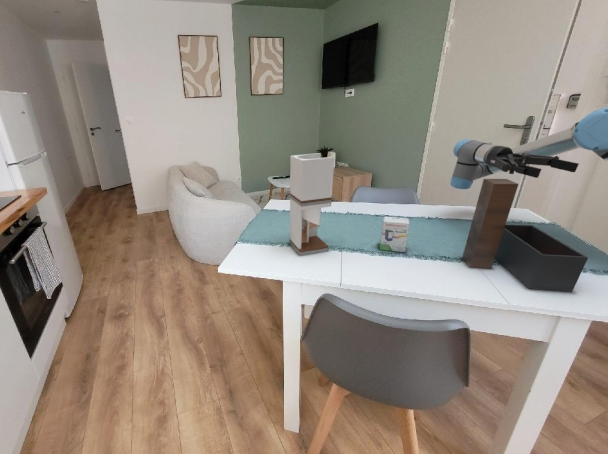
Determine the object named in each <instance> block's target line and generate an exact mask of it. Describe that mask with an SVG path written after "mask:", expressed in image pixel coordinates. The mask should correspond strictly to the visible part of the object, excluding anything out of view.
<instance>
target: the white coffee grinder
mask: <svg viewBox="0 0 608 454" xmlns="http://www.w3.org/2000/svg"><path fill="white" fill-rule="evenodd" d="M289 163H290V164H289V165H290V166H289V167H290V168H289V171H290V172H289V173H290V174H289V244H290V246H291V247H292V248H293V249H294V250H295V252H297V254H298V255H299V256H304V255H305V256H306V255H311V254H316V253H317V254H318V253H323V252H328V251H329V245H328V244H327V243H326V242H325V241H324V240H322V239H321V238H320V237H319V236H318V227H321V218H322V208H323V209H324V208H330V207H332V199H333V185H334V168H335V156H330V157H322V153H321V152H317V153H306V154H293V155H290V162H289Z"/></svg>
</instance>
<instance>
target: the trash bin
mask: <svg viewBox="0 0 608 454" xmlns="http://www.w3.org/2000/svg"><path fill="white" fill-rule="evenodd" d="M588 259H589V257H588V256H586V255H584V253H581V252H580V251H578V250H576V249H574V248H573V247H571V246H570V245H567V244H566V243H564V242H563V241H561V240H559V239H557V238H555V237H554V236H552V235H550V234H549V233H547V232H545V231H543V230H542V229H540V228H538V227H537V226H535V225H533V224H532V225H531V224H510V223H509V224H507V223H506V224H505V227H504V231H503V234H502V237H501V240H500V243H499V246H498V249H497V252H496V255H495V258H494V260H496V261H497V262H498V263H499V264H500V265H501V266H503V268H505V269H506V270H507V271H508V272H509V273H510V274H512V276H514V277H515V278H516V279H517V280H518V281H519V282H521V284H523V285H524V286H525V287H526V288H527V289H529V290H539V291H553V292H564V293H565V292H566V293H573V291H574V289H575V286H576V285H577V283H578V280H579V278H580V276H581V274H582V272H583V269H584V267H585V266H586V263H587V261H588Z"/></svg>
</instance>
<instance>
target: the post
mask: <svg viewBox="0 0 608 454" xmlns="http://www.w3.org/2000/svg"><path fill="white" fill-rule="evenodd" d="M518 187H519V183H518V182H515V181H513V180H510V179H508V178H483V179H482V184H481V188H480V191H479V194H478V199H477V202H476V205H475V209H474V214H473V217H472V220H471V224H470V228H469V231H468V234H467V238H466V242H465V245H464V249H463V253H462V257H461V259H462V260H463V261H464V262H465V263H466V265H467V266H468V267H469V268H475V269H492V267H493V264H494V261H495V255H496V252H497V249H498V246H499V243H500V240H501V237H502V234H503V231H504V227H505V224H507V221H508V218H509V215H510V212H511V209H512V205H513V202H514V199H515V196H516V193H517V191H518Z"/></svg>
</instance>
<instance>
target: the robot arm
mask: <svg viewBox="0 0 608 454" xmlns="http://www.w3.org/2000/svg"><path fill="white" fill-rule="evenodd" d="M577 149H583V150H588V151H592V152H593V153H594V154H595V155H597V156H598V157H599V158H601V159H602V160H603V161H608V106H606V107H602V108H599V109H596V110H593V111H591V113H589V114H587V115H585V116H584V117H583V118H582V119H580V121H578V122H575V123H574V124H573V125H572V126H571V127H569V128H567V129H564V130H560V131H557V132H555V133H552V134H550V135H547V136H544V137H541V138H538V139H536V140H533V141H529V142H527V143H524V144H522V145H518V146H515V147H513V148H511V147H509V146H504V145H499V144H493V142H484V141H479V140H476V139H466V138H464V139H461V140H459V141H458V142H456V144H455V145H454V147H453V150H452V151H453V156H455V157H456V158H457V160H456V163H455V166H454V170H453V172H452V175H451V177H450V178H451V179H450V187H452V188H455V189H459V190H469V189H470V188H471V187H472V185H473V183H474V181H476V180H479V179H482V178H484V177H488V176H491V175H494V174H497V173H498V174H499V173H500V172H504V173H508V174H509V175H514V173H517V174H521V175H523V176H528V177H531V178H535V179H537V178H539V176H540V174H541V172H542V168H539V167H536V166H545V167H546V166H547V167H550V168H553V169H557V170H561V171H566V172H571V173H576V171H577V169H578V166H579V165H580V163H579V162H573V161H569V160H564V159H560V157H559V156H558V155H561V154H564V153H568V152H572V151H574V150H577ZM532 165H533V166H532Z"/></svg>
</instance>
